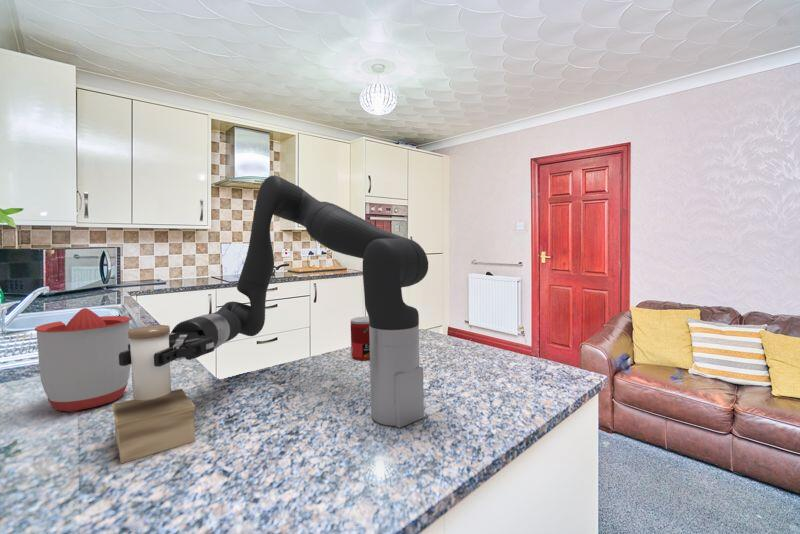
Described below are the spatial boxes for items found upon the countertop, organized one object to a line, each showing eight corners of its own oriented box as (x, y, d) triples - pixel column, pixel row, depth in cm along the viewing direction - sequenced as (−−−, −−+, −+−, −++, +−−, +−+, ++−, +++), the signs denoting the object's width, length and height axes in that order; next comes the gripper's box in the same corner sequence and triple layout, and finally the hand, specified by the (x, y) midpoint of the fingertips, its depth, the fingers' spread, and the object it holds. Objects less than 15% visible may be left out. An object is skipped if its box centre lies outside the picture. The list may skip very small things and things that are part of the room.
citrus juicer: (120, 381, 94) (115, 300, 93) (145, 398, 83) (140, 306, 82) (32, 402, 82) (25, 308, 81) (48, 425, 71) (40, 317, 70)
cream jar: (175, 394, 64) (172, 328, 63) (133, 403, 60) (130, 334, 60) (169, 384, 68) (166, 323, 68) (129, 393, 65) (126, 328, 64)
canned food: (366, 362, 106) (365, 322, 105) (345, 357, 111) (344, 319, 110) (383, 355, 112) (383, 318, 112) (363, 351, 117) (362, 315, 116)
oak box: (196, 441, 64) (194, 405, 64) (119, 464, 57) (117, 425, 57) (183, 420, 72) (181, 388, 72) (114, 438, 65) (112, 404, 65)
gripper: (167, 316, 79) (95, 336, 62) (235, 316, 77) (179, 337, 60) (169, 352, 79) (98, 382, 62) (236, 353, 78) (182, 384, 61)
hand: (138, 360), depth 61 cm, fingers closed on cream jar, 5 cm apart
